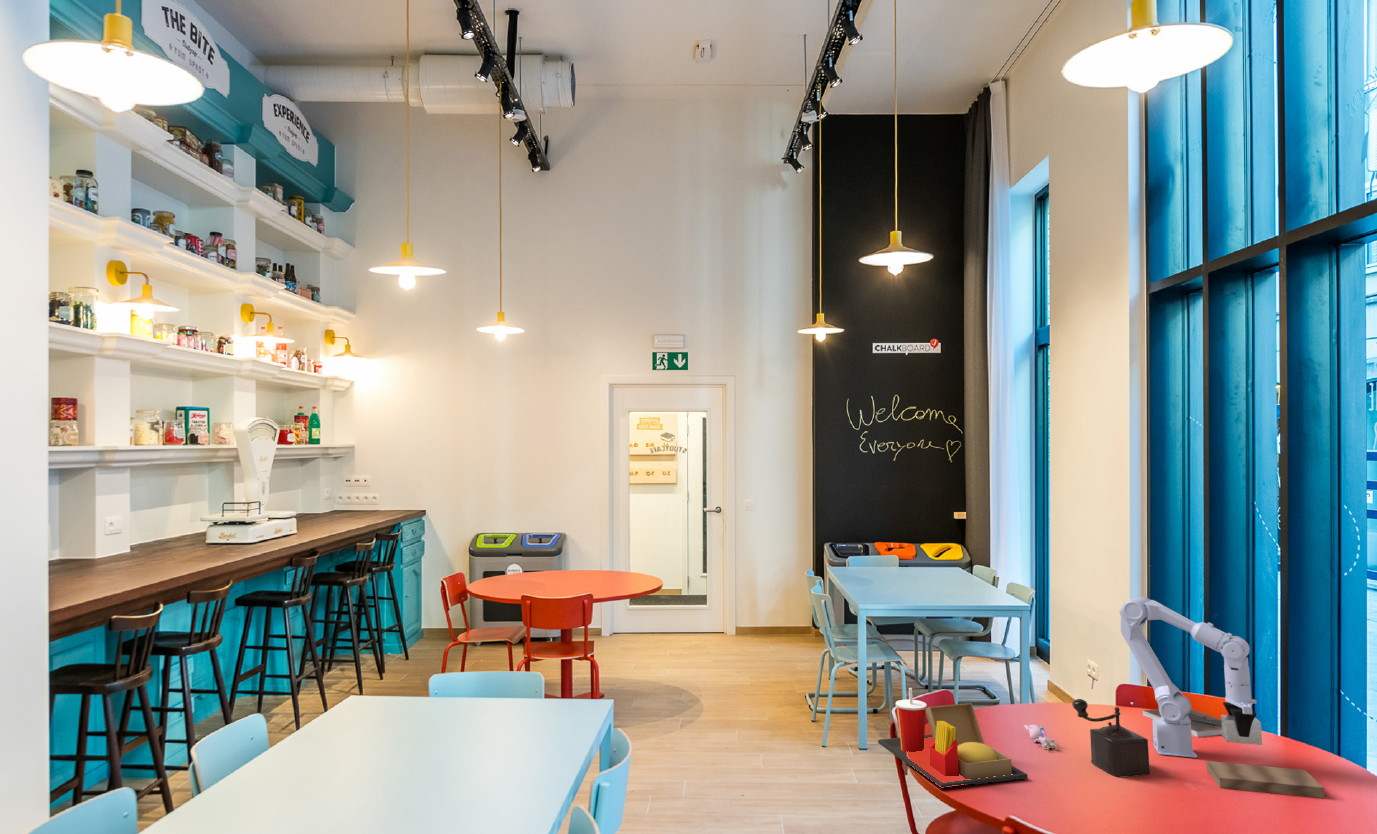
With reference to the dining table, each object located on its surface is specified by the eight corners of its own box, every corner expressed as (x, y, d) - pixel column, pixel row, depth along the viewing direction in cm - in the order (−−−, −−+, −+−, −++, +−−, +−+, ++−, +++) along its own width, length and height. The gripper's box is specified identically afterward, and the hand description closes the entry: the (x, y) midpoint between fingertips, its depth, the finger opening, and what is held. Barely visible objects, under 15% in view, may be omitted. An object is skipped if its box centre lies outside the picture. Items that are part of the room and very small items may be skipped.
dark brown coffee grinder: (1123, 759, 221) (1119, 694, 222) (1151, 774, 210) (1147, 705, 211) (1072, 763, 218) (1068, 697, 220) (1097, 778, 207) (1094, 709, 209)
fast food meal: (941, 792, 202) (938, 719, 203) (878, 746, 236) (876, 683, 237) (1027, 781, 207) (1024, 710, 209) (954, 738, 241) (951, 677, 243)
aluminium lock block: (1227, 742, 214) (1226, 719, 214) (1222, 736, 218) (1221, 714, 219) (1262, 745, 211) (1260, 722, 212) (1256, 739, 215) (1254, 717, 216)
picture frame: (1243, 734, 240) (1186, 713, 262) (1242, 726, 241) (1185, 705, 262) (1197, 739, 237) (1143, 717, 258) (1196, 730, 237) (1142, 709, 259)
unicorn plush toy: (1062, 755, 228) (1037, 730, 243) (1063, 736, 227) (1037, 711, 242) (1042, 756, 228) (1017, 731, 242) (1042, 737, 227) (1017, 712, 242)
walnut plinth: (1220, 787, 200) (1219, 777, 200) (1206, 770, 212) (1206, 760, 212) (1324, 798, 193) (1323, 787, 193) (1305, 779, 204) (1304, 769, 204)
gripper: (1264, 691, 208) (1267, 743, 207) (1245, 677, 221) (1249, 726, 220) (1233, 689, 210) (1236, 741, 209) (1216, 675, 224) (1219, 724, 223)
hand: (1240, 733), depth 215 cm, fingers closed on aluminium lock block, 4 cm apart
